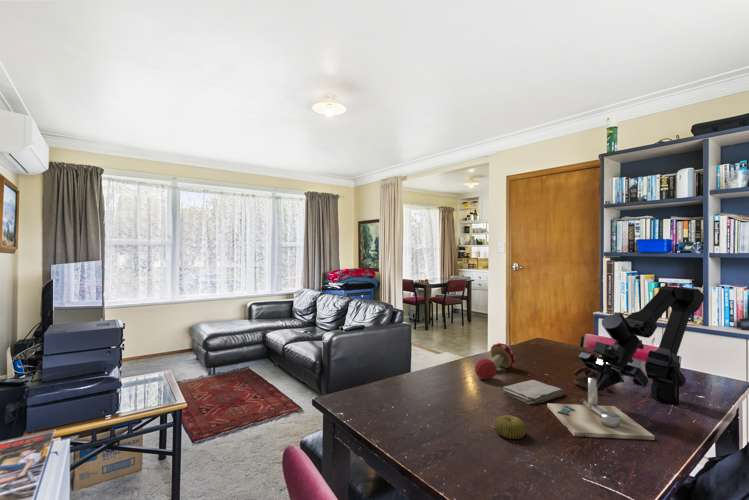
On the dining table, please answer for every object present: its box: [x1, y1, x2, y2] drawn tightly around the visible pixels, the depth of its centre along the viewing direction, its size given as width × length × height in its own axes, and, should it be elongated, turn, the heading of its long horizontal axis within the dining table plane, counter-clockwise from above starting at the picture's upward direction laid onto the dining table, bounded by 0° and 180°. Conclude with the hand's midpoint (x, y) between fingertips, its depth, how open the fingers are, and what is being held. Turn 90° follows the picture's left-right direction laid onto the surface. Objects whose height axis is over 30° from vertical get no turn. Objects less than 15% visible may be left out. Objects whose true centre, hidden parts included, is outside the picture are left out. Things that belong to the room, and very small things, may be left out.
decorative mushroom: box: [490, 342, 517, 370], centre depth 148 cm, size 11×11×15 cm
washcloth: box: [502, 379, 565, 405], centre depth 123 cm, size 12×18×3 cm, turn 121°
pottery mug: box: [572, 366, 607, 392], centre depth 130 cm, size 12×10×8 cm
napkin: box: [546, 403, 656, 441], centre depth 103 cm, size 20×18×1 cm
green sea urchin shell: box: [493, 414, 527, 440], centre depth 96 cm, size 8×4×8 cm
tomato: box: [474, 358, 497, 381], centre depth 137 cm, size 8×8×8 cm
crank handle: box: [583, 377, 620, 428], centre depth 104 cm, size 14×4×10 cm, turn 0°
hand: (596, 389), depth 108 cm, fingers closed
